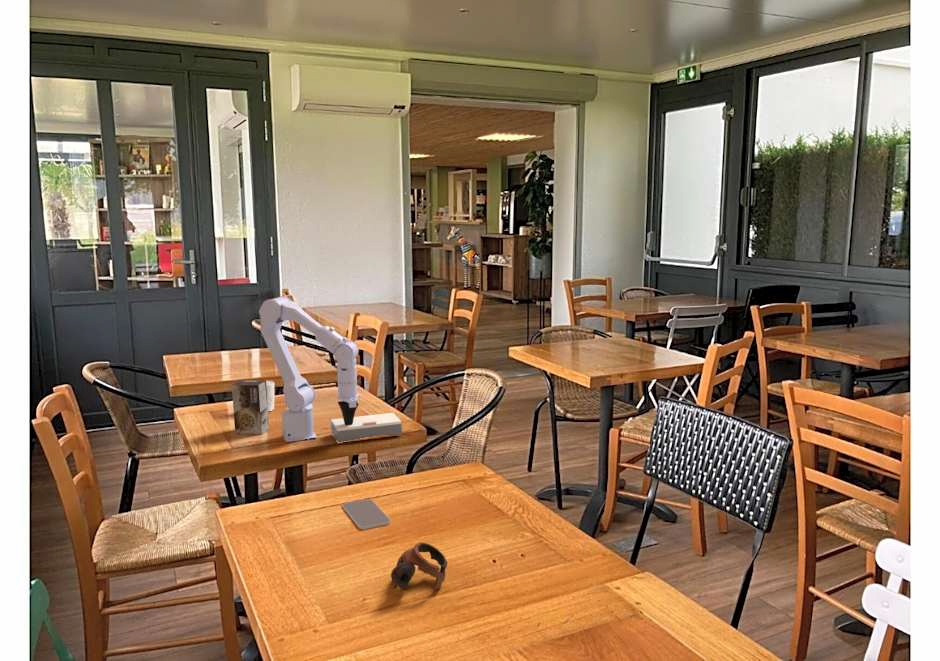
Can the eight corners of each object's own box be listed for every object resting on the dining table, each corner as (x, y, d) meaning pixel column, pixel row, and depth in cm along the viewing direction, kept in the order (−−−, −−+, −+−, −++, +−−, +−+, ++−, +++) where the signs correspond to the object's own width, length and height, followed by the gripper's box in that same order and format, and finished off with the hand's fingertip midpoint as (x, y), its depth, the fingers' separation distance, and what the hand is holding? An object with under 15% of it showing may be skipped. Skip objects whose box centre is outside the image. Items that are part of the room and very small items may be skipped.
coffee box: (269, 428, 228) (267, 380, 226) (261, 434, 222) (259, 384, 219) (242, 427, 229) (239, 379, 227) (234, 433, 223) (231, 384, 220)
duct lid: (337, 431, 212) (337, 426, 212) (331, 421, 222) (331, 417, 221) (401, 423, 220) (401, 419, 219) (392, 415, 229) (392, 411, 229)
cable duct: (337, 443, 213) (337, 431, 212) (331, 434, 222) (331, 422, 222) (401, 436, 220) (401, 423, 220) (393, 427, 229) (392, 415, 229)
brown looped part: (405, 568, 139) (426, 534, 138) (439, 601, 135) (461, 567, 134) (369, 580, 129) (391, 544, 127) (404, 616, 124) (427, 579, 123)
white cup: (251, 409, 251) (249, 382, 249) (273, 406, 254) (272, 379, 253) (254, 415, 244) (252, 386, 242) (277, 412, 247) (276, 384, 245)
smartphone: (370, 498, 171) (392, 521, 158) (370, 501, 171) (392, 525, 158) (340, 503, 168) (360, 527, 155) (341, 507, 168) (360, 531, 155)
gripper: (365, 385, 209) (366, 429, 211) (355, 375, 222) (356, 417, 225) (342, 387, 206) (343, 432, 209) (332, 377, 220) (334, 419, 222)
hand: (348, 424), depth 216 cm, fingers closed, pressing on duct lid
